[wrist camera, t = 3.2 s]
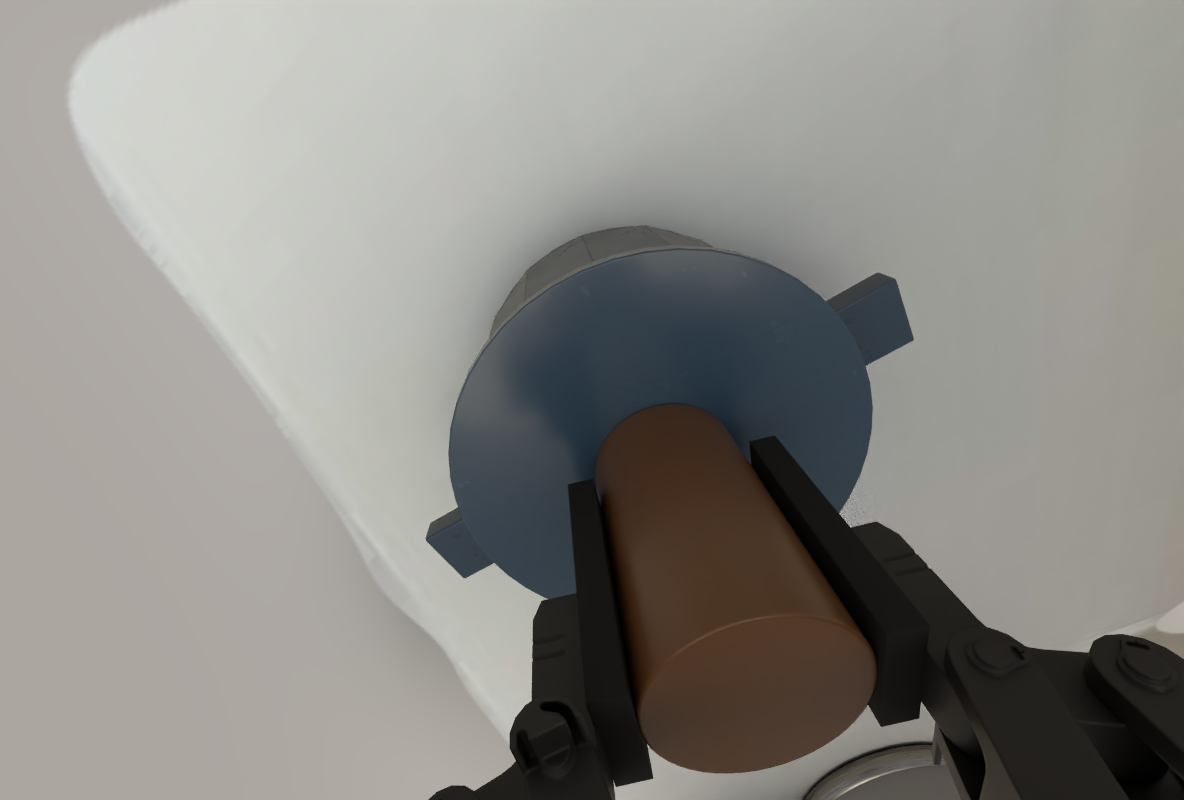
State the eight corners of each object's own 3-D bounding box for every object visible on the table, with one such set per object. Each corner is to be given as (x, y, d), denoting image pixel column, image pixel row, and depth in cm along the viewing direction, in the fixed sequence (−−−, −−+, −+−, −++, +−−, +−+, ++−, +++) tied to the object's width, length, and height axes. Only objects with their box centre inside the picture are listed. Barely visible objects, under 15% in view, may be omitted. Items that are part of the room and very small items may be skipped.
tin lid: (897, 490, 20) (1155, 736, 11) (588, 641, 22) (617, 940, 14) (766, 142, 14) (1097, 133, 6) (362, 393, 16) (174, 654, 8)
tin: (850, 379, 25) (962, 462, 19) (538, 544, 28) (538, 668, 21) (753, 124, 20) (861, 111, 13) (379, 359, 23) (311, 448, 16)
